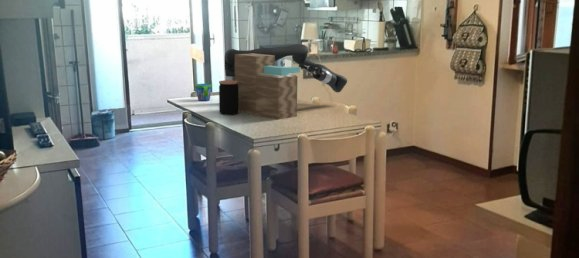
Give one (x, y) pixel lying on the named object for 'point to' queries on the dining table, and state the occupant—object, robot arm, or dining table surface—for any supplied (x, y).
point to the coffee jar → (228, 97)
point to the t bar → (280, 70)
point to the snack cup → (203, 91)
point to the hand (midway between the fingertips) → (304, 65)
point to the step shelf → (264, 88)
